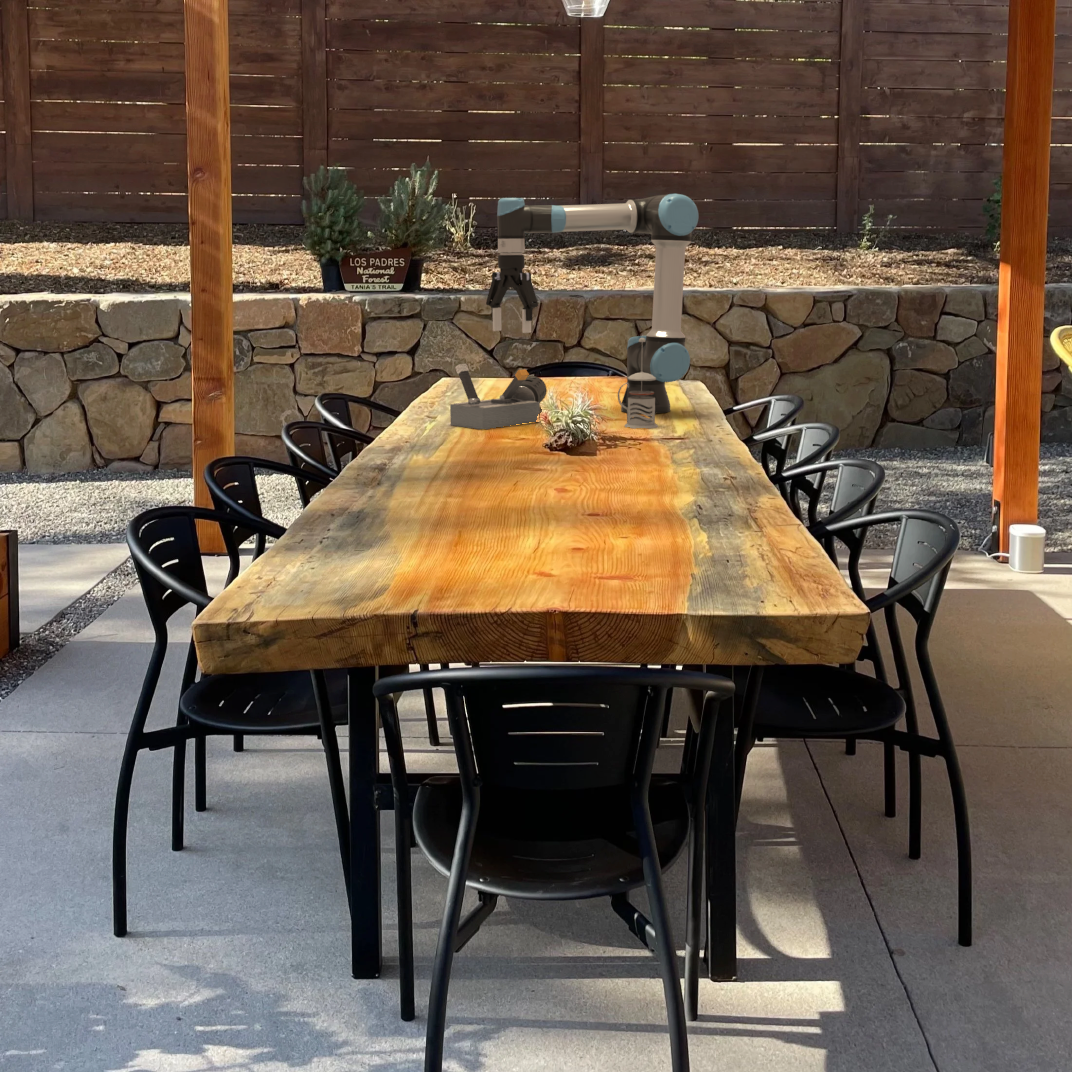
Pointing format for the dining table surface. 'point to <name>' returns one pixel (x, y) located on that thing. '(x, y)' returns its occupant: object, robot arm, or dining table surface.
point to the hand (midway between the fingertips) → (511, 331)
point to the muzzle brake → (531, 390)
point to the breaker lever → (514, 385)
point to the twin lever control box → (489, 408)
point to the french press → (640, 402)
